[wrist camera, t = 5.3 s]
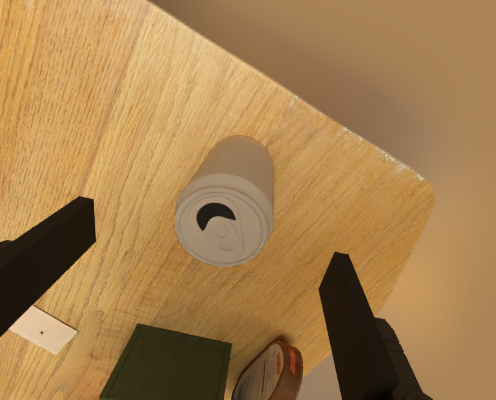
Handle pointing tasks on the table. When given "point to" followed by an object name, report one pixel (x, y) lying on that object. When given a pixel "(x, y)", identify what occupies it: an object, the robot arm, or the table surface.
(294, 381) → the tin
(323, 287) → the robot arm
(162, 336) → the waste bin
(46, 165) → the table surface
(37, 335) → the coaster
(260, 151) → the beverage can
